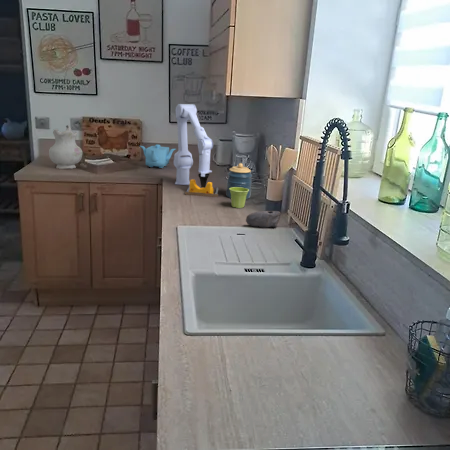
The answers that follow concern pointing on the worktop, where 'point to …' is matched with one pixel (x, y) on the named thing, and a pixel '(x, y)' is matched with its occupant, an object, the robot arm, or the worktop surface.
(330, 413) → the worktop surface
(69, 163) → the ceramic pitcher
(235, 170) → the canister
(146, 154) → the teakettle
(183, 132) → the robot arm
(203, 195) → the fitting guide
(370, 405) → the worktop surface
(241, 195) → the plant pot
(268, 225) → the perforated stone tool
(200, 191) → the pipe clamp
